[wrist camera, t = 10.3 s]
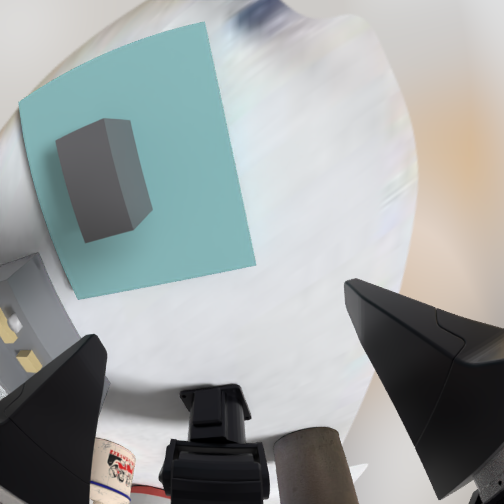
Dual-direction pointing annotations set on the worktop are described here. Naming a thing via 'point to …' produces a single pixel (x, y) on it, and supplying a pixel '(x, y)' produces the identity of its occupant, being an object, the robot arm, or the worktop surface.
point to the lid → (138, 167)
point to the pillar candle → (313, 468)
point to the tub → (31, 323)
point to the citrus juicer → (148, 495)
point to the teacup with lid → (111, 473)
